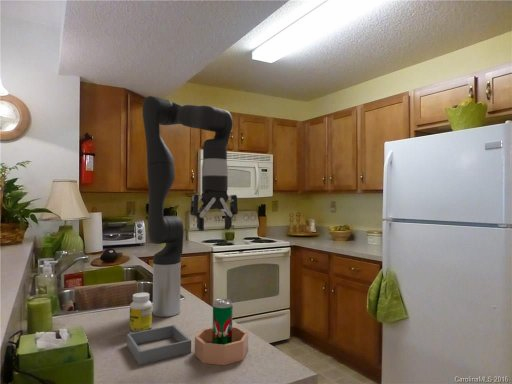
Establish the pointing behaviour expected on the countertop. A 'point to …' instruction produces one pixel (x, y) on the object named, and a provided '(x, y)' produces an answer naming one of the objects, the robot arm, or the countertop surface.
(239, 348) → the bowl
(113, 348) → the countertop surface
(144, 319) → the pill bottle
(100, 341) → the countertop surface
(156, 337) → the grey square frame
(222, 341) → the soda can
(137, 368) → the countertop surface
